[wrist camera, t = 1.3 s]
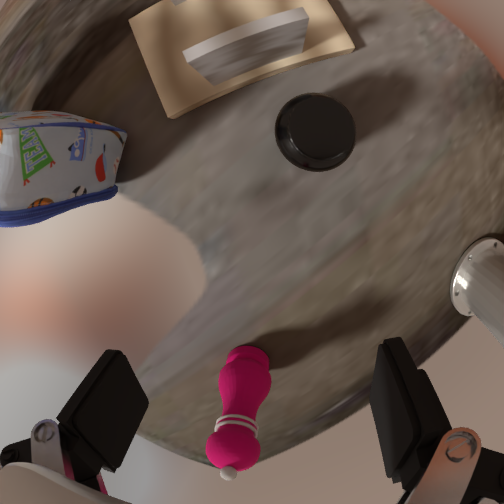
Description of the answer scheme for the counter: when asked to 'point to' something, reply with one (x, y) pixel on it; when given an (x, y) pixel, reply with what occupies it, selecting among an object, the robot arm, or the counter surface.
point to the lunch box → (54, 164)
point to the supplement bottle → (315, 132)
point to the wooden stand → (231, 44)
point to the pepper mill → (239, 411)
